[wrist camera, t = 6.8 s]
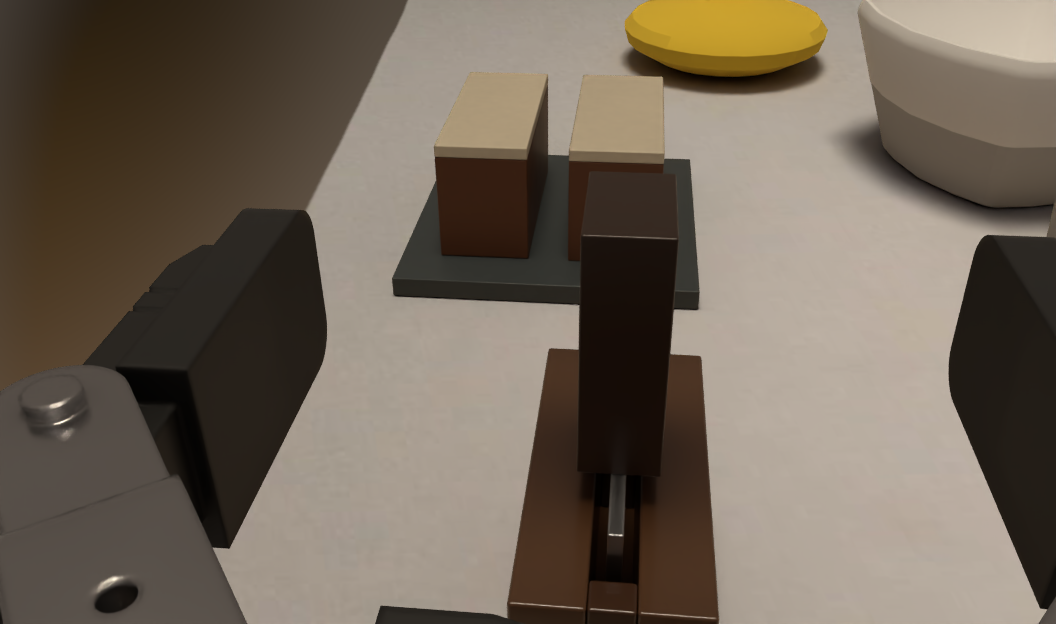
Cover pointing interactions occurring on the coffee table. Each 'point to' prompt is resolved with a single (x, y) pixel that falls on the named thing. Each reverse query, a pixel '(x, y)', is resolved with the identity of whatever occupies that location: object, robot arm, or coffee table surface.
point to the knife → (625, 333)
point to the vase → (725, 35)
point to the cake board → (533, 253)
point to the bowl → (967, 94)
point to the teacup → (1052, 223)
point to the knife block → (649, 527)
